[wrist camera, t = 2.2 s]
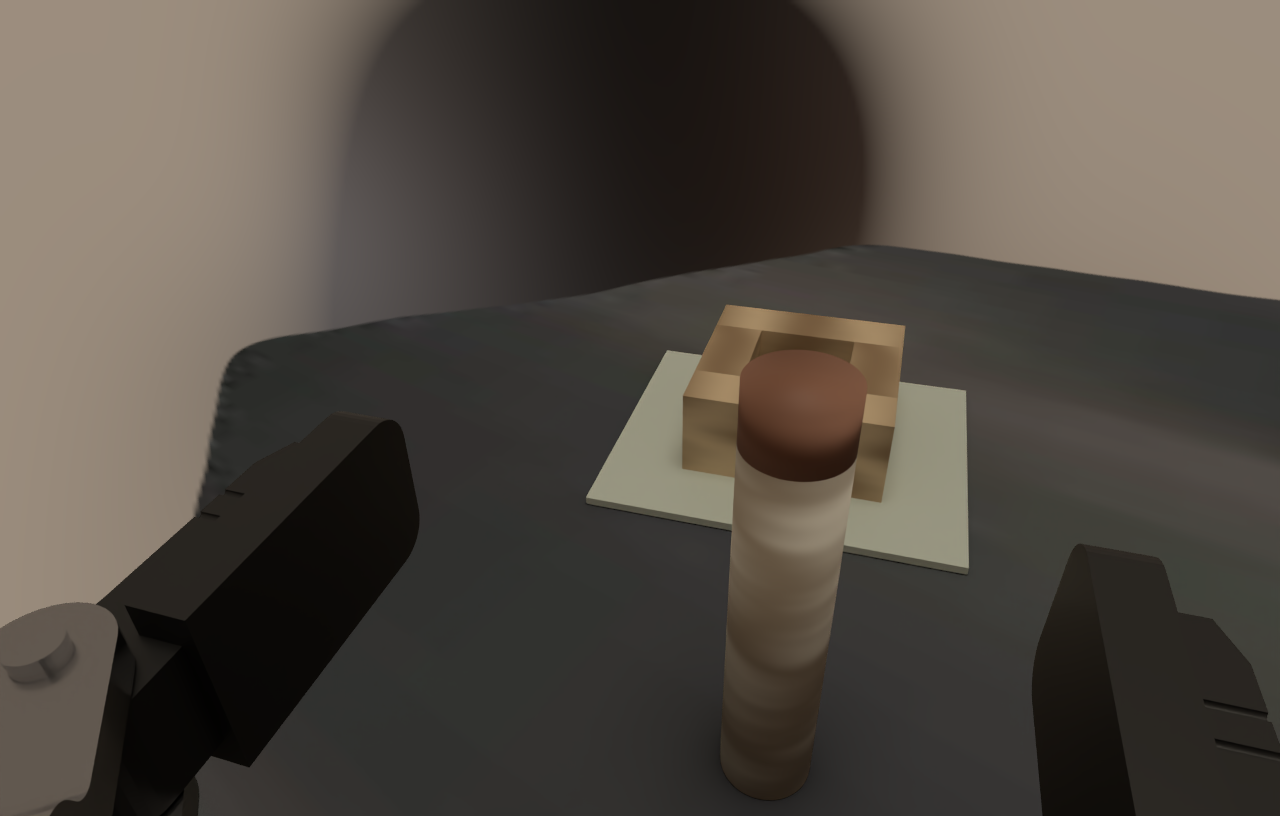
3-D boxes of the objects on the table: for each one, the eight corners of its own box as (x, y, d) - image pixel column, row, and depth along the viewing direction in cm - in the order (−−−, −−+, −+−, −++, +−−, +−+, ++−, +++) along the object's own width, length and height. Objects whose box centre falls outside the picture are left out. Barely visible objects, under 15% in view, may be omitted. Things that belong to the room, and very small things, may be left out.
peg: (815, 731, 32) (872, 358, 23) (803, 811, 29) (861, 425, 20) (730, 711, 32) (752, 343, 23) (711, 786, 30) (727, 405, 21)
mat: (964, 396, 50) (965, 390, 50) (966, 574, 38) (968, 568, 38) (667, 355, 54) (667, 350, 54) (586, 503, 43) (586, 497, 42)
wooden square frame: (893, 394, 49) (905, 325, 47) (881, 502, 42) (894, 427, 39) (723, 371, 52) (726, 304, 49) (682, 468, 44) (682, 395, 42)
